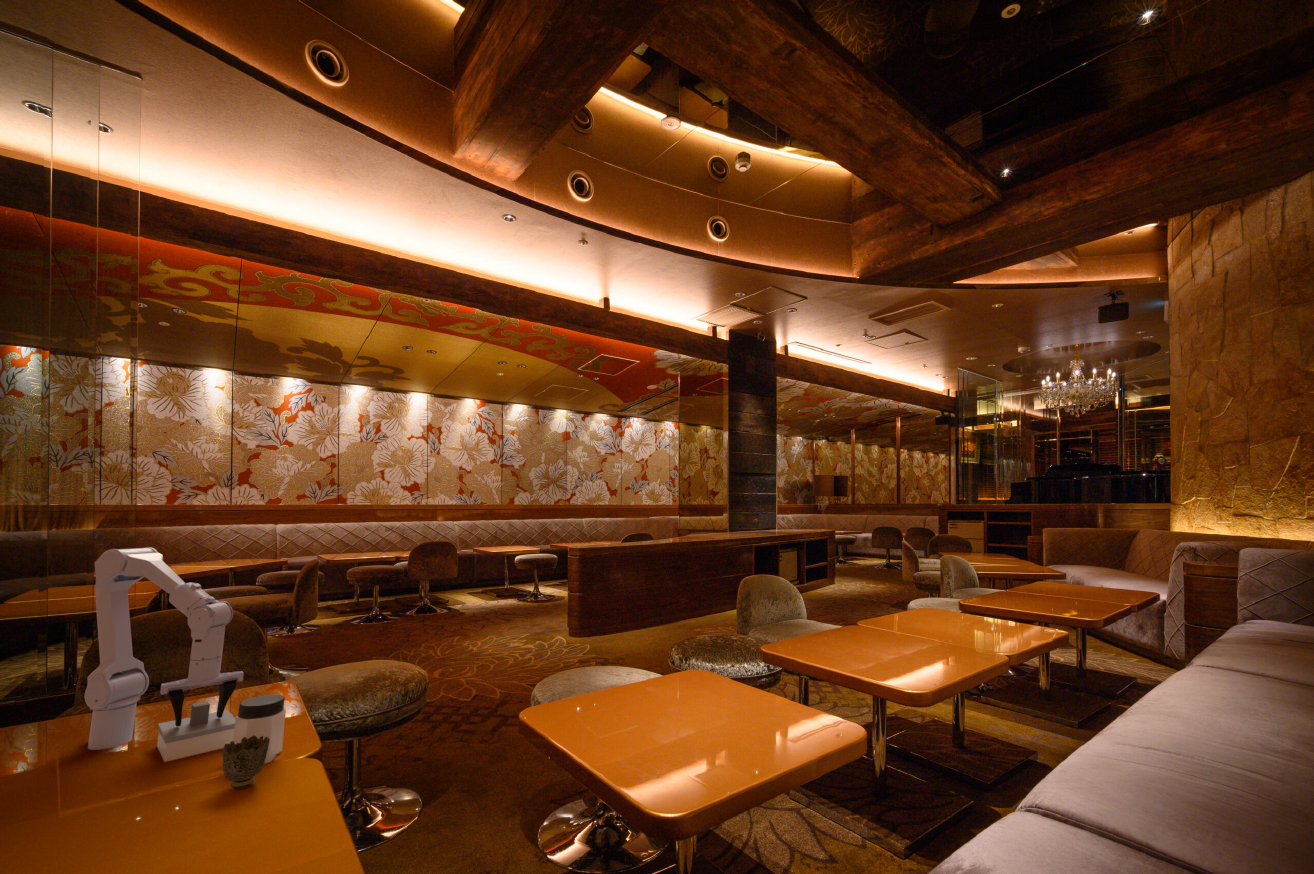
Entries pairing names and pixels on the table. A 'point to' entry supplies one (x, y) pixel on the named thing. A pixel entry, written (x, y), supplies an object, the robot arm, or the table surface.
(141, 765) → the table surface
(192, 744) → the box
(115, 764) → the table surface
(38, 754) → the table surface
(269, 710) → the jar
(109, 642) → the robot arm
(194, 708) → the lid
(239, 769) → the cup
